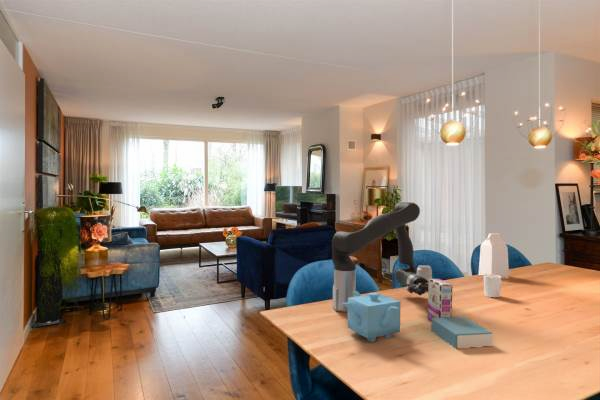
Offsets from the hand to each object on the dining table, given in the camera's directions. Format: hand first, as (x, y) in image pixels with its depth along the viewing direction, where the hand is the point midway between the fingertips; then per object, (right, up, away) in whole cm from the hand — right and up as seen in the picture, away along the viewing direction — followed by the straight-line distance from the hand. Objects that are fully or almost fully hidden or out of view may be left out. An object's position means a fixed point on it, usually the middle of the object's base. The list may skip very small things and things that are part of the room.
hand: (431, 293), depth 158 cm
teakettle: (-28, -10, -21) cm, 37 cm away
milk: (+64, -9, +77) cm, 100 cm away
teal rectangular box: (+2, -10, -23) cm, 26 cm away
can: (+12, -9, +45) cm, 48 cm away
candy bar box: (0, -10, -9) cm, 13 cm away
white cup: (+41, -9, +32) cm, 52 cm away
